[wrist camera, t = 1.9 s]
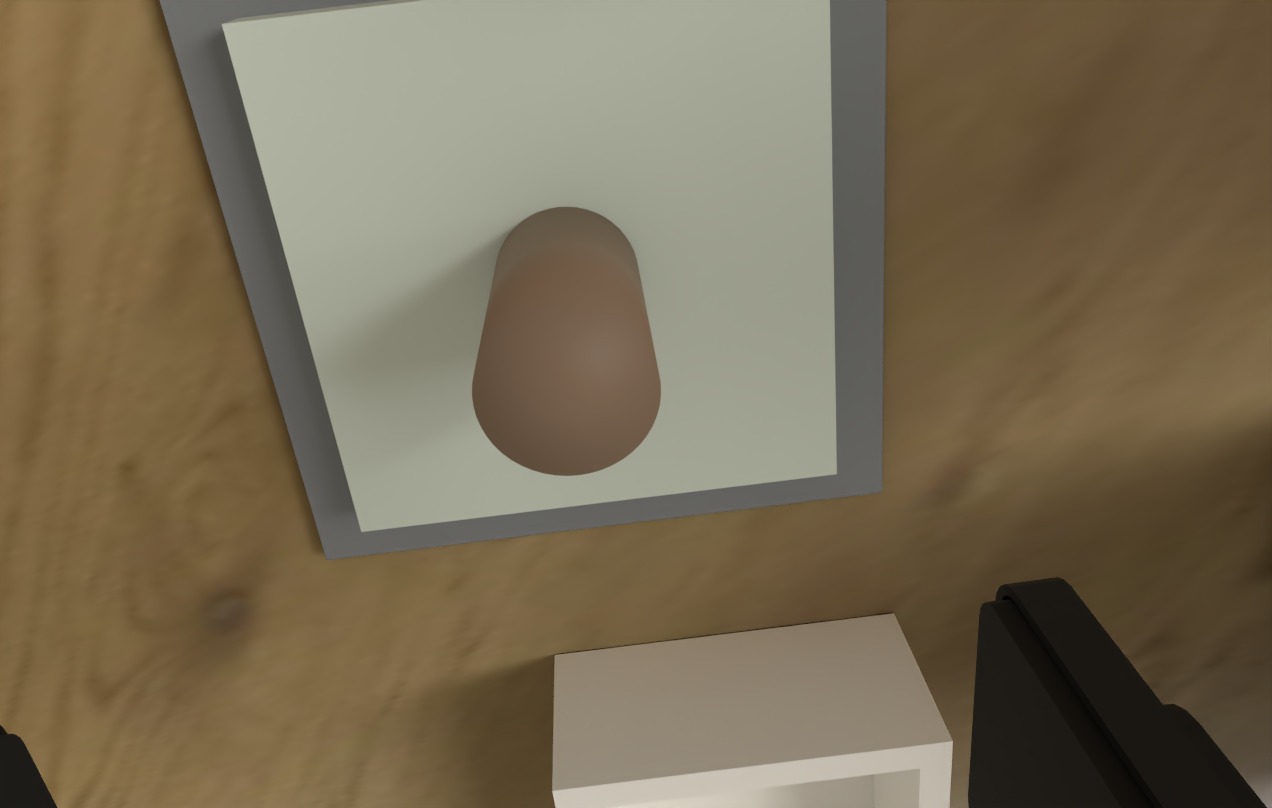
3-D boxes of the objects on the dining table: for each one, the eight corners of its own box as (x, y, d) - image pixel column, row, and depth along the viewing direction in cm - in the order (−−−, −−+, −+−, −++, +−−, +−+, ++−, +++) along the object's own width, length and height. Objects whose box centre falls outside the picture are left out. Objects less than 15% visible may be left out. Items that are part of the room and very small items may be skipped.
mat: (881, -139, 20) (887, -140, 20) (877, 484, 27) (881, 492, 27) (150, -54, 20) (143, -54, 20) (329, 551, 27) (326, 559, 27)
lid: (815, -51, 21) (927, -30, 14) (825, 450, 26) (910, 629, 20) (239, 17, 21) (89, 68, 14) (369, 505, 26) (304, 703, 20)
